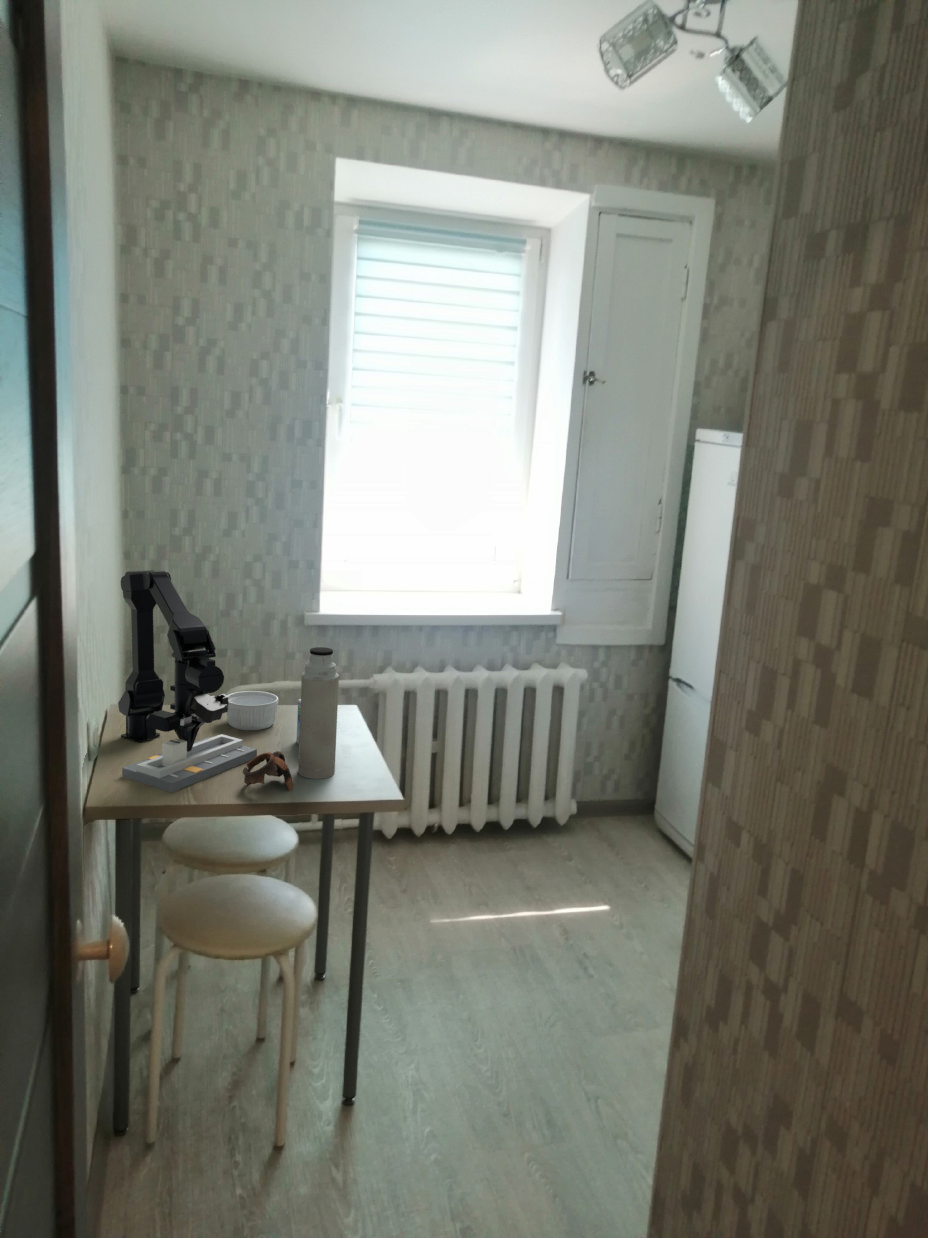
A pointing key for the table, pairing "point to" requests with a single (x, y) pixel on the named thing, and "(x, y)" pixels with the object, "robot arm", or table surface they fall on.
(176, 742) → the fader knob
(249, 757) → the console
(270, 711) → the ramekin
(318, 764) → the thermos bottle
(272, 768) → the brown curved looped piece
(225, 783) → the table surface
